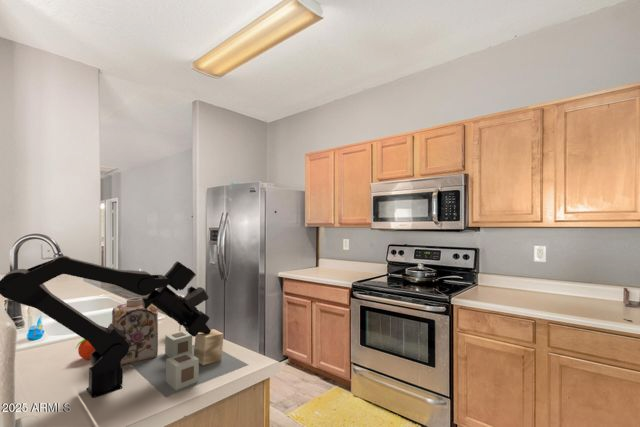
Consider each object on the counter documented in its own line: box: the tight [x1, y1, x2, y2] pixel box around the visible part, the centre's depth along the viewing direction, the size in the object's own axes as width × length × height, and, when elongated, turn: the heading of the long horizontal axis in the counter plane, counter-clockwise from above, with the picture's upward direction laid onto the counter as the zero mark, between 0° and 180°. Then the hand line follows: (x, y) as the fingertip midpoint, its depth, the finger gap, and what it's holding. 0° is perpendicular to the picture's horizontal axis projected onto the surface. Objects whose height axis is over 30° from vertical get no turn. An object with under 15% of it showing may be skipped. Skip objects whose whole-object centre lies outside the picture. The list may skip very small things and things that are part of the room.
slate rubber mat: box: [129, 344, 249, 398], centre depth 96 cm, size 24×26×1 cm
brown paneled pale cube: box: [164, 330, 193, 358], centre depth 103 cm, size 6×6×6 cm
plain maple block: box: [194, 328, 224, 365], centre depth 99 cm, size 6×6×8 cm
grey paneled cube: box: [166, 352, 199, 390], centre depth 85 cm, size 6×6×6 cm
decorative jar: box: [111, 296, 159, 366], centre depth 102 cm, size 12×12×18 cm
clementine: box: [75, 338, 95, 361], centre depth 99 cm, size 8×7×7 cm
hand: (209, 332), depth 99 cm, fingers closed, pressing on plain maple block
